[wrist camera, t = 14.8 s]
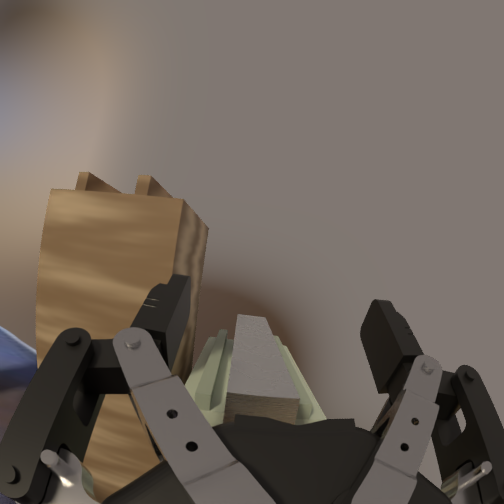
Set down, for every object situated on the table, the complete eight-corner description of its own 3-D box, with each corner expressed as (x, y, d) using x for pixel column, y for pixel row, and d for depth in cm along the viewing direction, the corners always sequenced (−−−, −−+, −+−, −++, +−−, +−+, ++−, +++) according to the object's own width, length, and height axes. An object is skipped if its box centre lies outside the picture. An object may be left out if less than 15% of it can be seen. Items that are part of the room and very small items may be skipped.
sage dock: (274, 563, 15) (330, 404, 17) (175, 554, 15) (175, 389, 16) (263, 465, 35) (287, 337, 37) (197, 458, 35) (210, 327, 36)
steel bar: (287, 453, 12) (300, 398, 13) (219, 448, 12) (226, 392, 12) (261, 343, 36) (265, 317, 36) (234, 340, 36) (237, 314, 36)
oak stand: (164, 535, 18) (187, 178, 20) (66, 501, 17) (55, 171, 20) (185, 465, 33) (210, 215, 35) (109, 445, 32) (120, 205, 34)
